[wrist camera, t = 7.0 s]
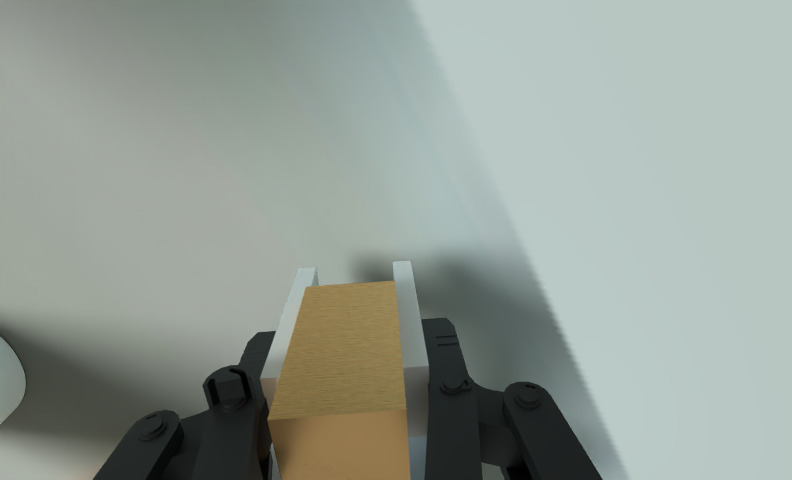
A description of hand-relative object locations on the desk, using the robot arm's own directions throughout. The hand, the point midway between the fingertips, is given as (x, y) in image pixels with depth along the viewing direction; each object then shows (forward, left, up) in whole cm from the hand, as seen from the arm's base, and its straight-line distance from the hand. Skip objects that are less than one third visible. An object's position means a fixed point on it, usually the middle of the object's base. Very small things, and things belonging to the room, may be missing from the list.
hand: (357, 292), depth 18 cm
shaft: (+8, 0, +2) cm, 9 cm away
